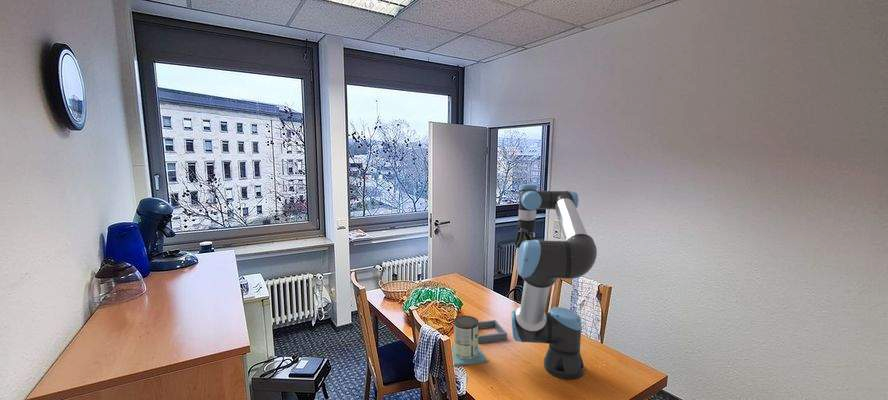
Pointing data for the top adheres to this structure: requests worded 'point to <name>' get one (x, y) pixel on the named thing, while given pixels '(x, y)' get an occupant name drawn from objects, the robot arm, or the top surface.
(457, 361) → the board
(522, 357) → the top surface
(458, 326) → the coffee can
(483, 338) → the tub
